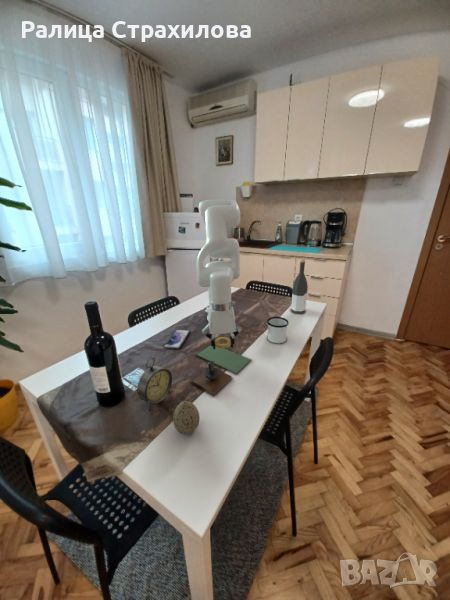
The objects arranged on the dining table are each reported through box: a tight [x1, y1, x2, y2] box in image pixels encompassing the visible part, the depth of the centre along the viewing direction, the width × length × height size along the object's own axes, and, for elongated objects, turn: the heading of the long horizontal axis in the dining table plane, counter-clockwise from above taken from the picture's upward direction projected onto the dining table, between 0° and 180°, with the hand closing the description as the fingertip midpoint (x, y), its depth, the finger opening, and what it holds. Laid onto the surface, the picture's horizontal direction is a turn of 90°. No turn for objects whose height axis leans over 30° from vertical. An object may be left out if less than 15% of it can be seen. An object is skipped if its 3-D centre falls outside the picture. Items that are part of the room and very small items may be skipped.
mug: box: [266, 316, 290, 344], centre depth 109 cm, size 12×10×9 cm
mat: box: [196, 344, 251, 375], centre depth 97 cm, size 20×10×1 cm, turn 53°
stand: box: [191, 361, 233, 396], centre depth 83 cm, size 10×10×8 cm
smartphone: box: [164, 329, 190, 349], centre depth 111 cm, size 7×1×15 cm
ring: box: [215, 336, 231, 349], centre depth 94 cm, size 6×6×1 cm
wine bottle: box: [290, 258, 309, 315], centre depth 131 cm, size 8×8×30 cm
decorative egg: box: [172, 400, 200, 435], centre depth 65 cm, size 7×7×10 cm
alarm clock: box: [136, 357, 173, 411], centre depth 74 cm, size 11×5×16 cm, turn 148°
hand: (222, 346), depth 94 cm, fingers closed on ring, 6 cm apart
